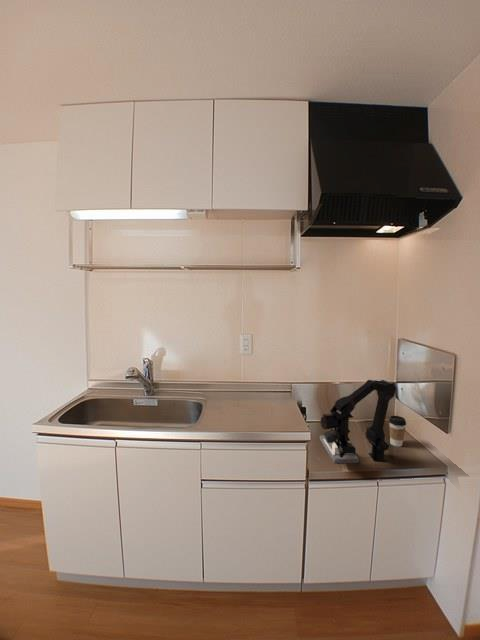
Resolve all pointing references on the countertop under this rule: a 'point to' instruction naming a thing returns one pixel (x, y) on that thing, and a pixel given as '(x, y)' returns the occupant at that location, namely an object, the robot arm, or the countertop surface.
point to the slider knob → (335, 449)
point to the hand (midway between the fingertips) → (341, 457)
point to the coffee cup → (397, 430)
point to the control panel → (336, 457)
